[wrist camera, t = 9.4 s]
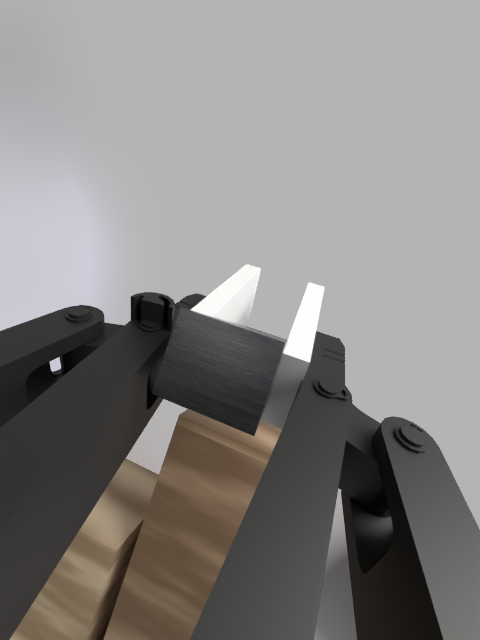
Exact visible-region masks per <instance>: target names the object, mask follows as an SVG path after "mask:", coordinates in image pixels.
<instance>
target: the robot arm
mask: <svg viewBox="0 0 480 640" xmlns="http://www.w3.org/2000/svg"><path fill="white" fill-rule="evenodd" d="M260 271H261V268H258V267H254V266H251V265H248V264H247V265H245V266H244V267H243V268H241V269H240V270H239V271H238V272H236V273H235V274H234V275H233V276H232V277H230V278H229V279H228V280H227V281H225V282H224V283H223V284H222V285H220V286H219V287H218V288H217V289H215V290H214V291H213V292H212V293H211V294H210V295H208V296H207V297H206V296H203V295H200V294H193V295H189V296H186V297H185V298H183V299H182V300H181V301H180V302H178V303H176V304H175V303H174V301H173V300H172V299H171V298H170V297H168V296H166V295H163V294H159V293H151V292H150V293H148V292H145V293H139V294H135V295H133V296H131V321H130V322H128V323H127V324H126V325H125V326H124V325H116V324H109V323H104V314H103V312H102V311H101V310H99V309H98V308H95V307H92V306H85V305H79V306H72V307H68V308H64V309H61V310H58V311H55V312H53V313H50V314H47V315H45V316H41V317H39V318H36V319H33V320H30V321H28V322H25V323H22V324H19V325H16V326H13V327H11V328H8V329H5V330H2V331H0V640H10V638H11V637H12V635H13V634H14V632H15V630H16V629H17V627H18V626H19V624H20V623H21V621H22V619H23V618H24V616H25V615H26V613H27V612H28V610H29V608H30V607H31V605H32V604H33V602H34V601H35V599H36V598H37V596H38V594H39V593H40V591H41V590H42V588H43V587H44V585H45V583H46V582H47V580H48V579H49V577H50V576H51V574H52V572H53V571H54V569H55V568H56V566H57V565H58V563H59V561H60V560H61V558H62V557H63V555H64V554H65V552H66V551H67V549H68V547H69V546H70V544H71V543H72V541H73V540H74V538H75V536H76V535H77V533H78V532H79V530H80V529H81V527H82V525H83V524H84V522H85V521H86V519H87V518H88V516H89V514H90V513H91V511H92V510H93V508H94V507H95V505H96V504H97V502H98V500H99V499H100V497H101V496H102V494H103V493H104V491H105V489H106V488H107V486H108V485H109V483H110V482H111V480H112V478H113V477H114V475H115V474H116V472H117V471H118V469H119V467H120V466H121V464H122V463H123V461H124V460H125V458H126V457H127V455H128V453H129V452H130V450H131V449H132V447H133V445H134V444H135V442H136V441H137V439H138V437H139V436H140V435H141V433H142V431H143V430H144V428H145V427H146V425H147V424H148V422H149V420H150V419H151V417H152V416H153V414H154V413H155V411H156V409H157V408H158V406H159V405H160V403H161V402H162V400H163V398H161V397H158V396H156V395H154V394H151V393H152V390H153V387H154V384H155V381H156V378H157V375H158V372H159V369H160V367H161V364H162V361H163V358H164V355H165V352H166V349H167V346H168V343H169V340H170V337H171V334H172V331H173V328H174V325H175V322H176V319H177V316H178V313H179V310H180V307H182V308H185V309H188V310H192V311H195V312H199V313H202V314H205V315H209V316H212V317H215V318H219V319H222V320H226V321H229V322H232V323H236V324H239V325H244V324H245V322H246V321H247V319H248V318H249V317H250V314H251V309H252V305H253V301H254V296H255V292H256V288H257V284H258V279H259V275H260ZM323 292H324V287H323V286H320V285H316V284H312V283H308V286H307V289H306V292H305V294H304V297H303V300H302V302H301V306H300V308H299V311H298V314H297V316H296V319H295V322H294V324H293V327H292V330H291V333H290V336H289V338H288V341H287V345H286V348H285V350H284V353H283V356H282V359H281V362H280V365H279V369H278V372H277V375H276V378H275V381H274V384H273V387H272V390H271V393H270V396H269V399H268V403H267V405H266V408H265V410H264V413H263V416H262V419H261V421H262V422H265V423H267V424H270V425H272V426H274V427H277V428H279V429H282V431H281V433H280V436H279V438H278V440H277V443H276V445H275V447H274V449H273V452H272V454H271V456H270V458H269V461H268V463H267V465H266V468H265V470H264V472H263V474H262V477H261V479H260V481H259V484H258V486H257V488H256V490H255V493H254V495H253V497H252V499H251V502H250V504H249V506H248V509H247V511H246V513H245V515H244V518H243V520H242V522H241V524H240V527H239V529H238V531H237V534H236V536H235V538H234V540H233V543H232V545H231V547H230V549H229V552H228V554H227V556H226V559H225V561H224V563H223V565H222V568H221V570H220V572H219V574H218V577H217V579H216V581H215V584H214V586H213V588H212V590H211V593H210V595H209V597H208V599H207V602H206V604H205V606H204V609H203V611H202V613H201V615H200V618H199V620H198V622H197V624H196V627H195V629H194V631H193V634H192V636H191V638H190V640H314V634H315V628H316V622H317V616H318V610H319V604H320V597H321V591H322V584H323V579H324V573H325V566H326V560H327V554H328V548H329V542H330V535H331V529H332V523H333V516H334V511H335V505H336V498H337V492H338V488H339V489H341V495H342V505H343V514H344V523H345V533H346V541H347V551H348V560H349V569H350V578H351V587H352V596H353V605H354V614H355V623H356V632H357V640H480V530H479V528H478V525H477V523H476V522H475V519H474V518H473V515H472V513H471V511H470V509H469V507H468V505H467V503H466V501H465V499H464V497H463V495H462V493H461V491H460V489H459V487H458V485H457V483H456V481H455V479H454V477H453V475H452V473H451V470H450V468H449V466H448V464H447V462H446V461H445V458H444V456H443V454H442V452H441V450H440V448H439V447H438V445H437V444H436V442H435V441H434V440H433V438H432V437H431V436H430V435H429V434H428V433H427V432H426V431H424V430H423V429H422V428H420V427H419V426H417V425H416V424H414V423H412V422H410V421H408V420H405V419H403V418H399V417H388V418H385V419H384V420H383V422H382V423H379V422H377V421H376V420H374V419H372V418H370V417H369V416H367V415H366V414H364V413H363V412H361V411H360V410H359V409H358V408H356V407H355V406H354V405H353V404H352V396H351V393H350V392H349V390H348V388H347V387H346V386H345V357H344V356H345V347H344V345H343V344H342V342H341V341H340V339H339V338H335V337H332V336H329V335H326V334H323V333H320V332H317V331H316V329H317V324H318V319H319V313H320V308H321V303H322V298H323ZM58 357H60V363H61V369H60V370H57V371H54V372H52V371H51V369H50V363H49V362H50V361H51V360H54V359H56V358H58Z"/></svg>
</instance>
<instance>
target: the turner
mask: <svg viewBox="0 0 480 640" xmlns="http://www.w3.org/2000/svg"><path fill="white" fill-rule="evenodd" d="M287 341H288V340H286V339H283V338H280V337H277V336H274V335H271V334H268V333H265V332H262V331H259V330H256V329H252V328H249V327H246V326H243V325H239V324H236V323H232V322H229V321H226V320H222V319H219V318H215V317H212V316H209V315H205V314H202V313H199V312H195V311H192V310H188V309H185V308H182V307H180V310H179V313H178V316H177V319H176V322H175V325H174V328H173V331H172V334H171V337H170V340H169V343H168V346H167V349H166V352H165V355H164V358H163V361H162V364H161V367H160V369H159V372H158V375H157V378H156V381H155V384H154V387H153V390H152V393H151V394H154V395H156V396H158V397H161V398H163V399H166V400H168V401H171V402H173V403H175V404H178V405H180V406H182V407H185V408H187V409H190V410H192V411H194V412H197V413H199V414H202V415H204V416H206V417H209V418H211V419H214V420H216V421H218V422H221V423H223V424H226V425H228V426H230V427H233V428H235V429H238V430H240V431H242V432H245V433H247V434H250V435H252V436H255V433H256V431H257V428H258V426H259V423H260V421H261V418H262V415H263V413H264V410H265V408H266V405H267V403H268V399H269V396H270V393H271V390H272V387H273V384H274V381H275V378H276V375H277V372H278V369H279V365H280V362H281V359H282V356H283V353H284V350H285V348H286V345H287Z"/></svg>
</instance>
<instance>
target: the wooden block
mask: <svg viewBox="0 0 480 640" xmlns="http://www.w3.org/2000/svg"><path fill="white" fill-rule="evenodd" d="M262 416H263V415H262ZM261 419H262V418H261ZM281 431H282V429H279V428H277V427H274V426H272V425H270V424H267V423H265V422H262V421H260V423H259V426H258V428H257V431H256V433H255V436H252V435H250V434H247V433H245V432H242V431H240V430H238V429H235V428H233V427H230V426H228V425H226V424H223V423H221V422H218V421H216V420H214V419H211V418H209V417H206V416H204V415H202V414H199V413H197V412H194V411H192V410H190V409H188V410H186V411H185V412H183V413H182V414H180V415H179V417H178V421H177V423H176V426H175V429H174V432H173V435H172V438H171V441H170V444H169V447H168V450H167V453H166V456H165V459H164V462H163V465H162V468H161V471H160V474H159V477H158V480H157V482H156V485H155V488H154V491H153V494H152V497H151V500H150V503H149V506H148V509H147V512H146V515H145V518H144V521H143V524H142V527H141V530H140V533H139V536H138V539H137V542H136V545H135V548H134V551H133V554H132V557H131V559H130V562H129V565H128V568H127V571H126V574H125V577H124V580H123V583H122V586H121V589H120V592H119V595H118V598H117V601H116V604H115V607H114V610H113V613H112V616H111V619H110V622H109V625H108V628H107V631H106V634H105V637H104V639H103V640H190V638H191V636H192V634H193V631H194V629H195V627H196V624H197V622H198V620H199V618H200V615H201V613H202V611H203V609H204V606H205V604H206V602H207V599H208V597H209V595H210V593H211V590H212V588H213V586H214V584H215V581H216V579H217V577H218V574H219V572H220V570H221V568H222V565H223V563H224V561H225V559H226V556H227V554H228V552H229V549H230V547H231V545H232V543H233V540H234V538H235V536H236V534H237V531H238V529H239V527H240V524H241V522H242V520H243V518H244V515H245V513H246V511H247V509H248V506H249V504H250V502H251V499H252V497H253V495H254V493H255V490H256V488H257V486H258V484H259V481H260V479H261V477H262V474H263V472H264V470H265V468H266V465H267V463H268V461H269V458H270V456H271V454H272V452H273V449H274V447H275V445H276V443H277V440H278V438H279V436H280V433H281Z"/></svg>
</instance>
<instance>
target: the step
mask: <svg viewBox="0 0 480 640" xmlns="http://www.w3.org/2000/svg"><path fill="white" fill-rule="evenodd" d="M158 477H159V475H158V474H156V473H154V472H152V471H150V470H148V469H146V468H144V467H142V466H140V465H138V464H136V463H134V462H132V461H129V460H127V459H125V460H124V461H123V463H122V464H121V466H120V467H119V469H118V471H117V472H116V474H115V475H114V477H113V478H112V480H111V482H110V483H109V485H108V486H107V488H106V489H105V491H104V493H103V494H102V496H101V497H100V499H99V500H98V502H97V504H96V505H95V507H94V508H93V510H92V511H91V513H90V514H89V516H88V518H87V519H86V521H85V522H84V524H83V525H82V527H81V529H80V530H79V532H78V533H77V535H76V536H75V538H74V540H73V541H72V543H71V544H70V546H69V547H68V549H67V551H66V552H65V554H64V555H63V557H62V558H61V560H60V561H59V563H58V565H57V566H56V568H55V569H54V571H53V572H52V574H51V576H50V577H49V579H48V580H47V582H46V583H45V585H44V587H43V588H42V590H41V591H40V593H39V594H38V596H37V598H36V599H35V601H34V602H33V604H32V605H31V607H30V608H29V610H28V612H27V613H26V615H25V616H24V618H23V619H22V621H21V623H20V624H19V626H18V627H17V629H16V630H15V632H14V634H13V635H12V637H11V638H10V640H103V639H104V637H105V634H106V631H107V628H108V625H109V622H110V619H111V616H112V613H113V610H114V607H115V604H116V601H117V598H118V595H119V592H120V589H121V586H122V583H123V580H124V577H125V574H126V571H127V568H128V565H129V562H130V559H131V557H132V554H133V551H134V548H135V545H136V542H137V539H138V536H139V533H140V530H141V527H142V524H143V521H144V518H145V515H146V512H147V509H148V506H149V503H150V500H151V497H152V494H153V491H154V488H155V485H156V482H157V480H158Z"/></svg>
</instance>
